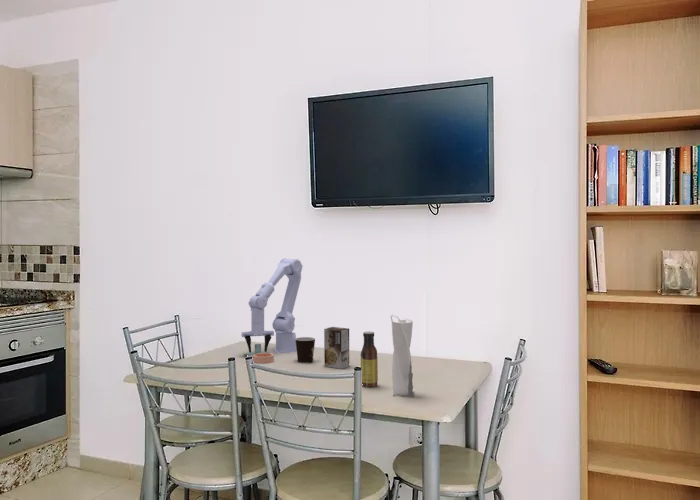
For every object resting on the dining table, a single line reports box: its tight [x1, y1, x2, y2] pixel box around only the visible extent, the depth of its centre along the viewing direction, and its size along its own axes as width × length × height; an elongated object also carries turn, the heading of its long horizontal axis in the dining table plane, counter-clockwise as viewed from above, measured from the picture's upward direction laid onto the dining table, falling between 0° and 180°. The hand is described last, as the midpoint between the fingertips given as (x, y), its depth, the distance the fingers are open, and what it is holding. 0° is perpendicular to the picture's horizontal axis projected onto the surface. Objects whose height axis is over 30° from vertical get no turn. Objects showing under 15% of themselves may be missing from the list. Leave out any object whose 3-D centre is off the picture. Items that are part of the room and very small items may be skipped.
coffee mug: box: [295, 336, 316, 364], centre depth 256 cm, size 12×9×10 cm
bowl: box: [252, 352, 275, 365], centre depth 254 cm, size 9×9×3 cm
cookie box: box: [323, 326, 350, 370], centre depth 246 cm, size 9×6×16 cm
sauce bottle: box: [360, 330, 379, 388], centre depth 216 cm, size 7×6×20 cm
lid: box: [246, 343, 268, 357], centre depth 266 cm, size 9×9×5 cm
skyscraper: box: [390, 314, 415, 398], centre depth 205 cm, size 8×8×28 cm
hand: (257, 351), depth 266 cm, fingers open, 6 cm apart
